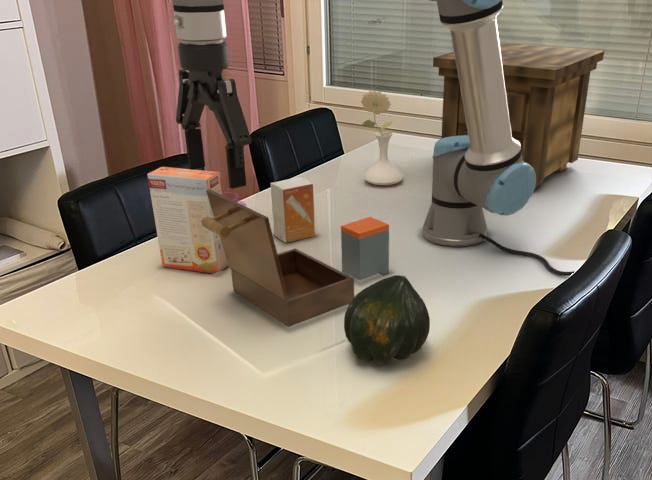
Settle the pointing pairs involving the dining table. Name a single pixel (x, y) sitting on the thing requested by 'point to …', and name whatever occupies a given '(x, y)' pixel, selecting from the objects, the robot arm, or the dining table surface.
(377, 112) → the flower in vase
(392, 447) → the dining table surface
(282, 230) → the small box
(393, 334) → the squash
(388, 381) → the dining table surface
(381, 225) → the container
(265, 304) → the chest
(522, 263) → the dining table surface
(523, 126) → the wooden drawer cabinet
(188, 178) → the cracker box
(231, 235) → the chest lid
